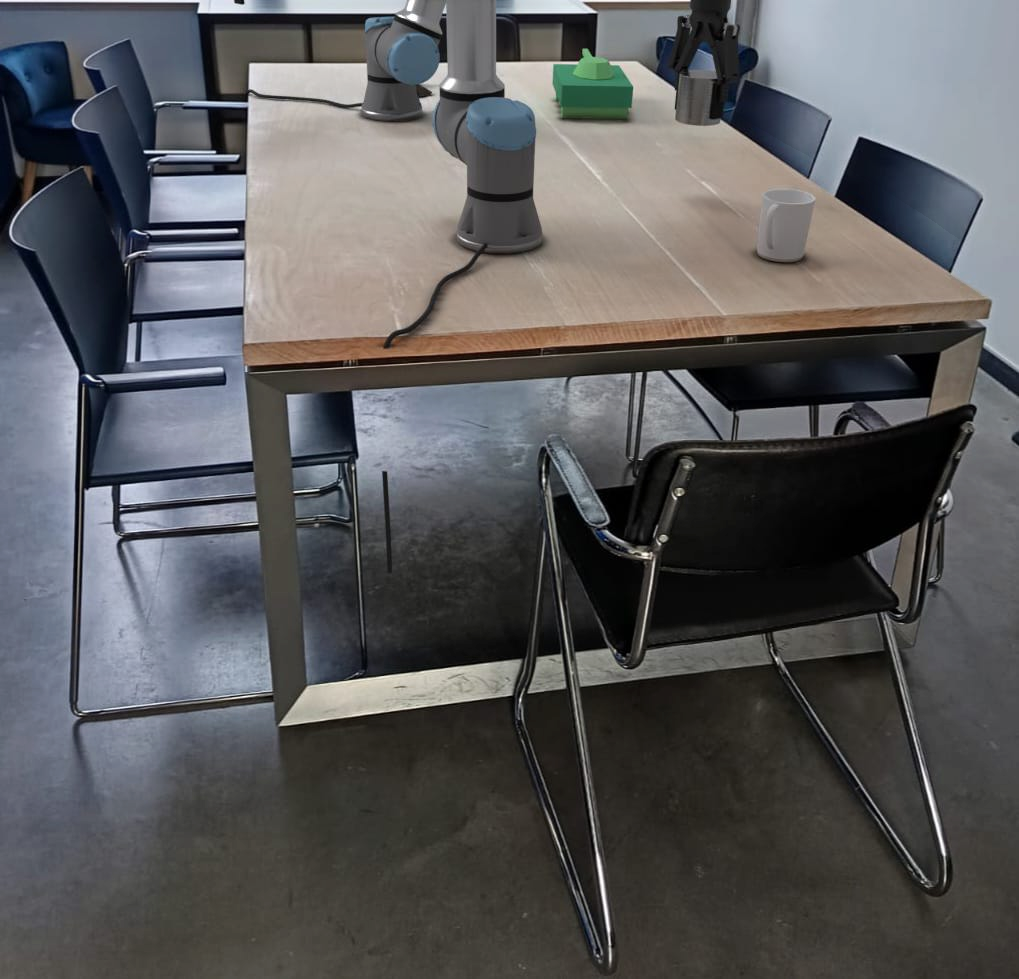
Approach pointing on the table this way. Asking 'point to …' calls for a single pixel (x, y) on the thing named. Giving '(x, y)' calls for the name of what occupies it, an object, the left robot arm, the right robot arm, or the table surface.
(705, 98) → the tin
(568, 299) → the table surface
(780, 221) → the mug
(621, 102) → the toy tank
